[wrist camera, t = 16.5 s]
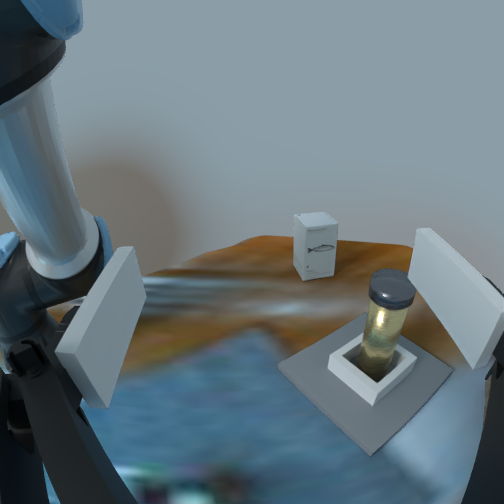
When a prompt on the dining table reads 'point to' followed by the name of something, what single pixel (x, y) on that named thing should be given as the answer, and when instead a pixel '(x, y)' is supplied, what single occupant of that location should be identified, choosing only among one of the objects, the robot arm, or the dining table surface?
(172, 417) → the dining table surface
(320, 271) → the supplement box
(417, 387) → the socket plate
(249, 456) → the dining table surface
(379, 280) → the lidded glass jar
